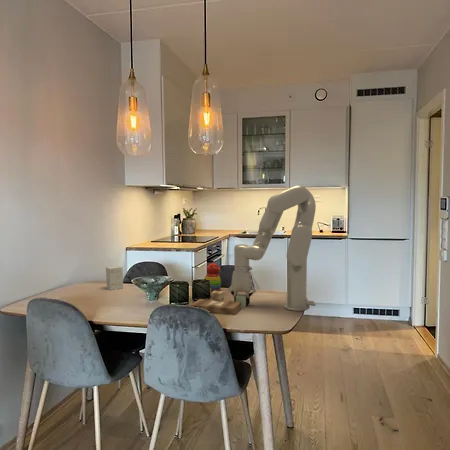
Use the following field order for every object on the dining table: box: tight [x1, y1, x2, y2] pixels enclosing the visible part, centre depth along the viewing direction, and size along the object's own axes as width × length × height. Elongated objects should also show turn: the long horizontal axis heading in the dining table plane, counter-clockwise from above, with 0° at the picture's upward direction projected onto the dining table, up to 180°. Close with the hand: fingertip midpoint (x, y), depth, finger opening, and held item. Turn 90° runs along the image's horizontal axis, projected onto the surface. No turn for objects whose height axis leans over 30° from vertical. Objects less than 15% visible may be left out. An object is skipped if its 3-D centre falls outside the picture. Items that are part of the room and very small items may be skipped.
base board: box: [190, 298, 242, 316], centre depth 196 cm, size 22×12×3 cm, turn 73°
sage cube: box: [236, 293, 247, 308], centre depth 204 cm, size 5×5×5 cm
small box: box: [105, 265, 124, 291], centre depth 242 cm, size 8×6×13 cm
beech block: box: [210, 290, 225, 301], centre depth 208 cm, size 5×5×6 cm
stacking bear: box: [204, 262, 224, 293], centre depth 226 cm, size 11×10×18 cm
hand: (241, 304), depth 204 cm, fingers closed on sage cube, 5 cm apart
